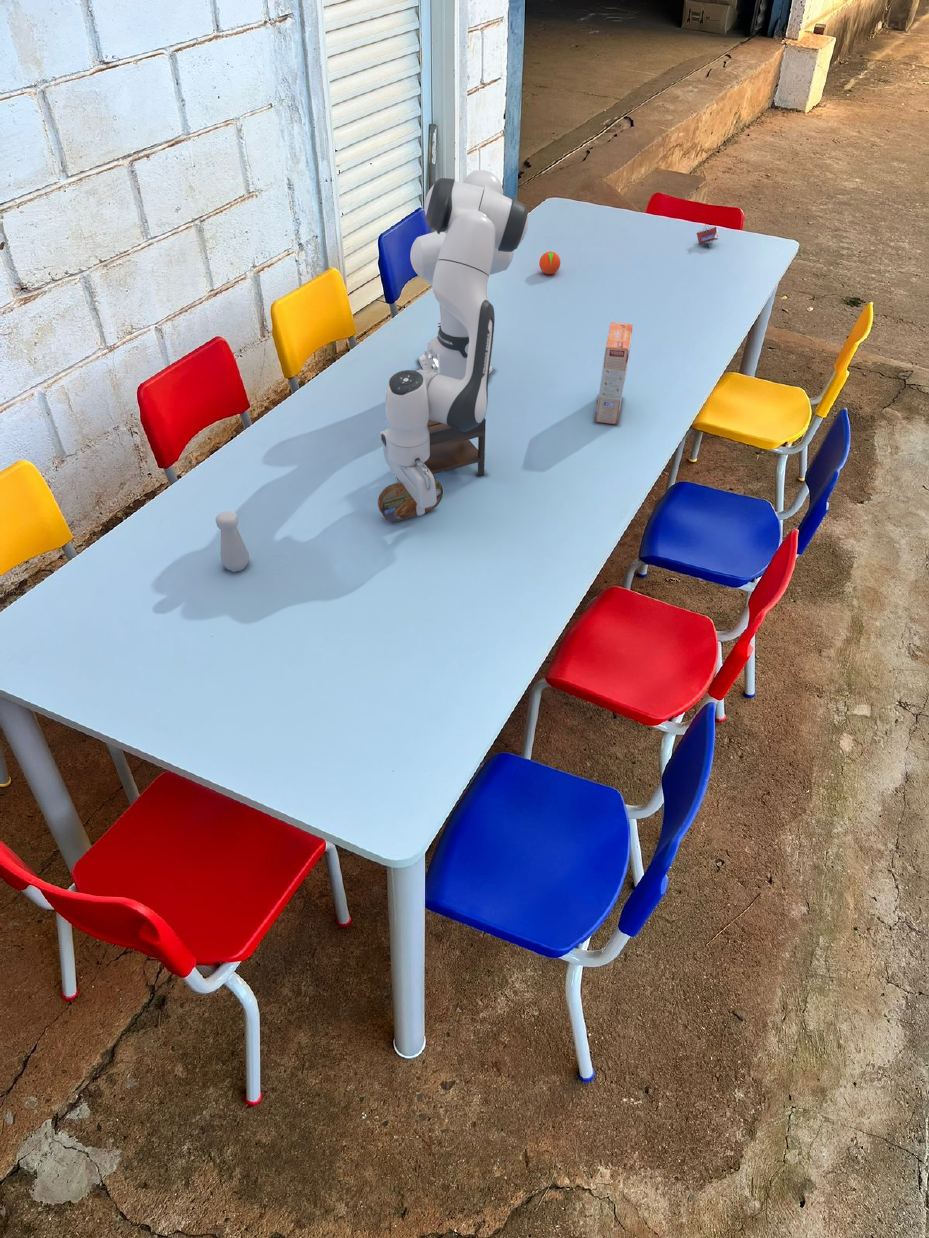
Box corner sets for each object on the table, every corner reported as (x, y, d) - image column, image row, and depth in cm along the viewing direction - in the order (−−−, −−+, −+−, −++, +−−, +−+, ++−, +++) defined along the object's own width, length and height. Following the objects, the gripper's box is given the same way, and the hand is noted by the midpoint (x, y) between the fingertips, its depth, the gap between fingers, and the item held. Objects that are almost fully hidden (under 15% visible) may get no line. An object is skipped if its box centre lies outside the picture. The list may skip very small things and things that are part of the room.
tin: (382, 526, 196) (380, 494, 190) (377, 518, 198) (374, 486, 192) (444, 507, 201) (443, 476, 195) (437, 500, 203) (437, 468, 197)
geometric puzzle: (691, 241, 309) (709, 223, 304) (691, 234, 314) (708, 216, 309) (706, 255, 311) (724, 238, 306) (705, 247, 316) (723, 230, 311)
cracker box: (618, 426, 226) (629, 349, 212) (594, 423, 227) (604, 346, 213) (622, 398, 236) (633, 323, 222) (599, 395, 237) (609, 320, 223)
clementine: (560, 279, 291) (562, 257, 286) (539, 279, 291) (540, 257, 286) (558, 269, 296) (560, 247, 291) (538, 269, 296) (539, 247, 291)
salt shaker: (237, 578, 183) (226, 528, 174) (216, 568, 185) (204, 518, 176) (256, 562, 187) (246, 512, 178) (235, 553, 189) (225, 503, 180)
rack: (397, 466, 213) (394, 411, 202) (461, 449, 218) (462, 394, 208) (418, 493, 205) (416, 437, 194) (484, 475, 210) (485, 419, 200)
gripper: (443, 469, 182) (444, 523, 191) (403, 421, 195) (406, 474, 205) (415, 477, 180) (417, 531, 189) (376, 428, 193) (380, 481, 203)
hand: (411, 501), depth 197 cm, fingers open, 8 cm apart
